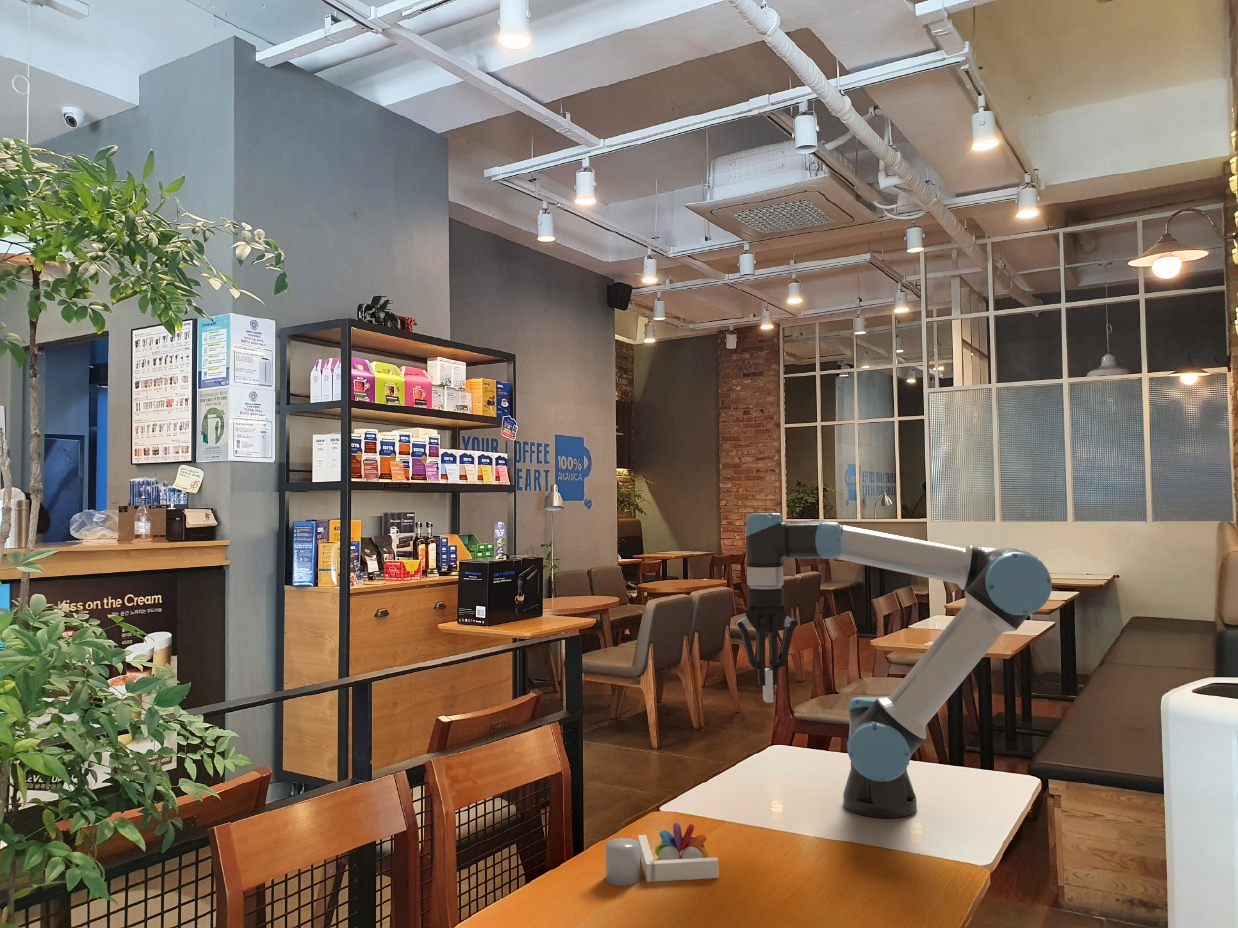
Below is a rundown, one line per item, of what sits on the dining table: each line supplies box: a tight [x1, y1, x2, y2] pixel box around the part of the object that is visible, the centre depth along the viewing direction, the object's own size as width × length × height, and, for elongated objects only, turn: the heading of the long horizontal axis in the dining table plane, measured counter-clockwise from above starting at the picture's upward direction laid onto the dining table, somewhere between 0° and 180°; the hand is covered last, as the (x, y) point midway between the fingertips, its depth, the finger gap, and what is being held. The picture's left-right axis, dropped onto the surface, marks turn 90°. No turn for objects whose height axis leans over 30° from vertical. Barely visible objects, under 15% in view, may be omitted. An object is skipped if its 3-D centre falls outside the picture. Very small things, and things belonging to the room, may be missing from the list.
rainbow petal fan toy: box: [654, 822, 709, 860], centre depth 168 cm, size 8×10×7 cm
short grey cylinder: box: [604, 837, 641, 887], centre depth 161 cm, size 6×6×6 cm
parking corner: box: [637, 834, 720, 883], centre depth 167 cm, size 13×14×3 cm
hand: (768, 700), depth 190 cm, fingers closed
